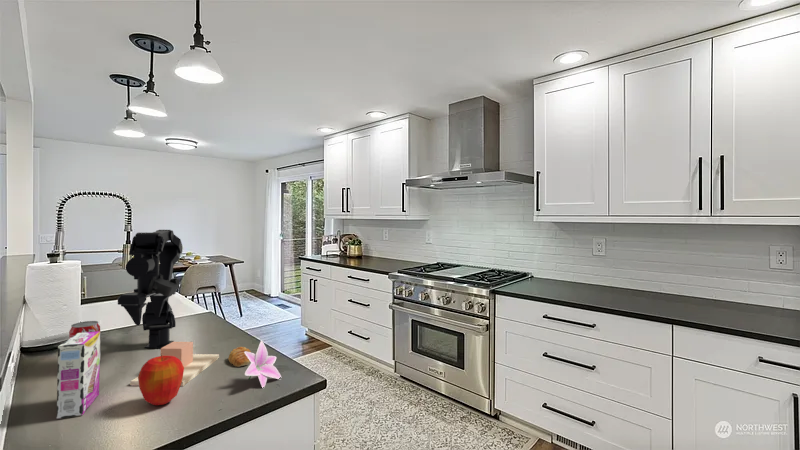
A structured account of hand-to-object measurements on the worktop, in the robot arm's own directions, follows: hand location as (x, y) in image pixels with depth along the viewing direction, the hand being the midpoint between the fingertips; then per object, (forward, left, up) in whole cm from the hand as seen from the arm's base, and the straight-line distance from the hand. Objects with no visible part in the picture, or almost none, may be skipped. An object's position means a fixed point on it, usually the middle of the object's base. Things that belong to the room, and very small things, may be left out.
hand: (148, 321), depth 118 cm
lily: (+16, +42, -12) cm, 46 cm away
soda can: (+7, -14, -12) cm, 20 cm away
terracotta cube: (+8, +14, -11) cm, 19 cm away
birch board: (+9, +15, -12) cm, 21 cm away
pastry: (+1, +30, -12) cm, 33 cm away
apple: (+28, +22, -12) cm, 38 cm away
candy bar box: (+30, +4, -12) cm, 33 cm away
